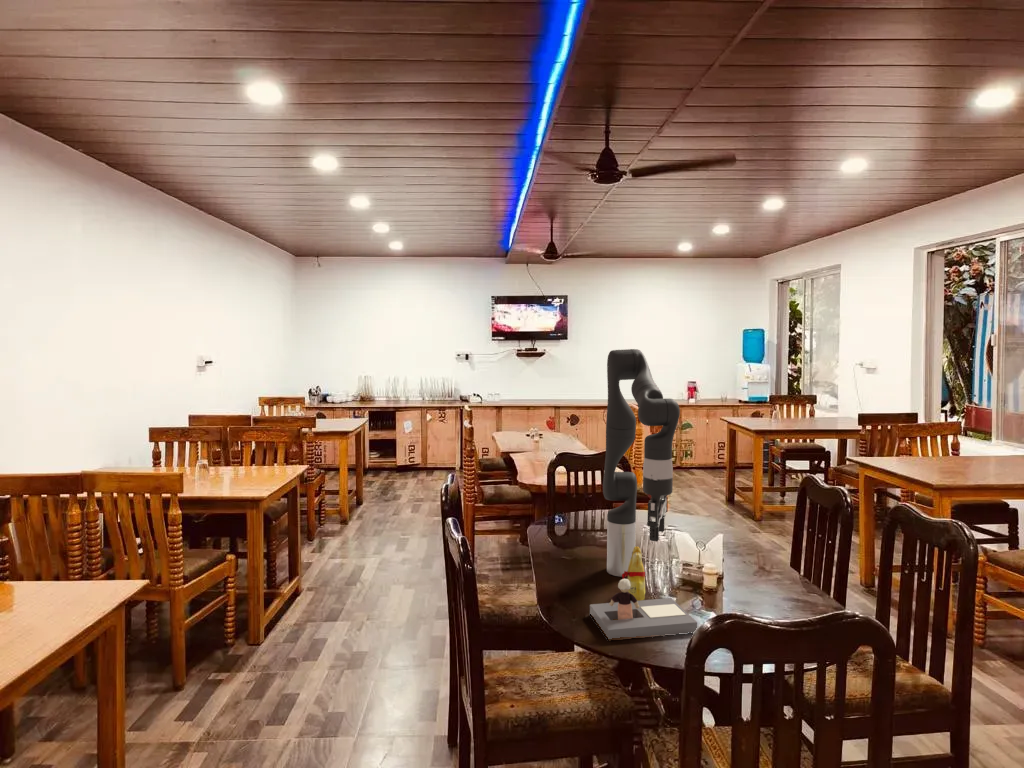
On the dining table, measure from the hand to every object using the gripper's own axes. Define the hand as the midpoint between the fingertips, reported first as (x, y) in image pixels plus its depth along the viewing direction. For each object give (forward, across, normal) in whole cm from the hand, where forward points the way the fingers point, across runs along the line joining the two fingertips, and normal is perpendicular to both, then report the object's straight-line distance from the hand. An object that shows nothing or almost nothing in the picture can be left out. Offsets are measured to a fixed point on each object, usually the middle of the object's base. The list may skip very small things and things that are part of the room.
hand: (657, 535), depth 168 cm
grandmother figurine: (+25, +2, -8) cm, 26 cm away
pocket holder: (+25, -1, -4) cm, 25 cm away
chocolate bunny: (+25, -20, -10) cm, 34 cm away
